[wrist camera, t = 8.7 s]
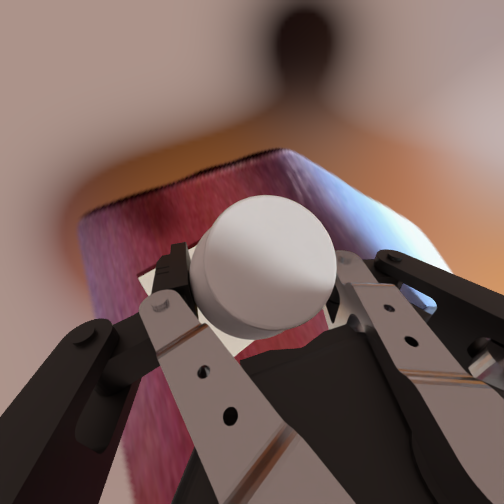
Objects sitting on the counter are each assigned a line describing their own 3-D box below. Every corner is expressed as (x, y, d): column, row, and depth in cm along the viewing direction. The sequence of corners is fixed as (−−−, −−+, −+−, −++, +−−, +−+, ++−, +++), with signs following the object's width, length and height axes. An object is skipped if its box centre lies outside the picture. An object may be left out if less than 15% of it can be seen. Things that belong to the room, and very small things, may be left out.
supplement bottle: (184, 293, 14) (123, 276, 4) (228, 237, 15) (251, 143, 6) (244, 337, 14) (306, 411, 5) (282, 277, 15) (383, 241, 6)
